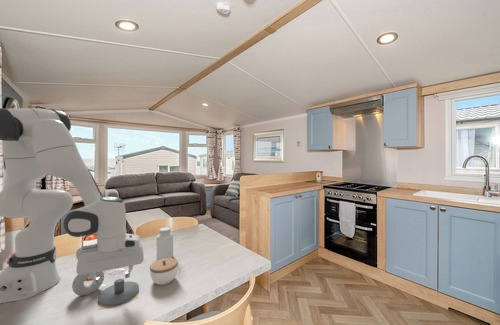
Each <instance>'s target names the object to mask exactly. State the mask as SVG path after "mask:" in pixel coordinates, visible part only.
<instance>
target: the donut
mask: <svg viewBox="0 0 500 325" xmlns="http://www.w3.org/2000/svg"><path fill="white" fill-rule="evenodd" d="M95 275H96V276H97V277H100V283H99V284H95V285H94V280H93V279H92V282H91V283H90V284H87V285H86V284H84V283H85V281H86V280H87V279H88V278H91V277H90V273H89V274H84V275H78V274H77V275H76V276H75V278H74V279H73V281H72V284H71V289H72V291H73V293H74V294H75V295H77V296H81V297H84V296H89V295H91V294H93V293H94V292H97V290H98V289H100V287H101V286H102V284H103V282H104V280H105V273H104V271H100V272H96V273H95Z"/></svg>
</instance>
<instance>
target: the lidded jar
mask: <svg viewBox="0 0 500 325" xmlns="http://www.w3.org/2000/svg"><path fill="white" fill-rule="evenodd" d="M178 263H179V262H178V260H177V259H176V258H173V257H172V258H163V259H159V260H158V259H156V260H154V261H153V262H152V263H150V265H149V271H150V278H151V280H152V282H153V283H154V284H155V285H158V286H164V285H168V284H170V283H171V282H172V281H174V279H175V277H176V276H177V272H178Z"/></svg>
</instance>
